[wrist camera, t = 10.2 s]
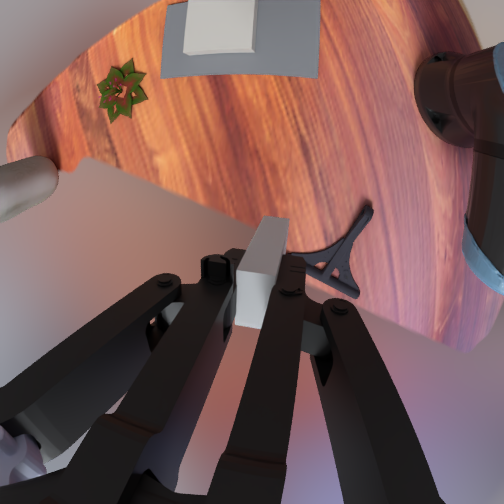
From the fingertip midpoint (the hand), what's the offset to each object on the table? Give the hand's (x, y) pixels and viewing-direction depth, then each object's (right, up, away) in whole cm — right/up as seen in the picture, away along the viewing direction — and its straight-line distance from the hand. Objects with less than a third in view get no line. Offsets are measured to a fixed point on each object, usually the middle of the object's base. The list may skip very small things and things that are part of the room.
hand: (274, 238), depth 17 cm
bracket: (+14, +1, +28) cm, 31 cm away
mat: (-3, +31, +16) cm, 35 cm away
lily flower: (-24, +27, +23) cm, 43 cm away
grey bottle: (-45, +16, +32) cm, 58 cm away
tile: (-6, +28, +16) cm, 32 cm away
